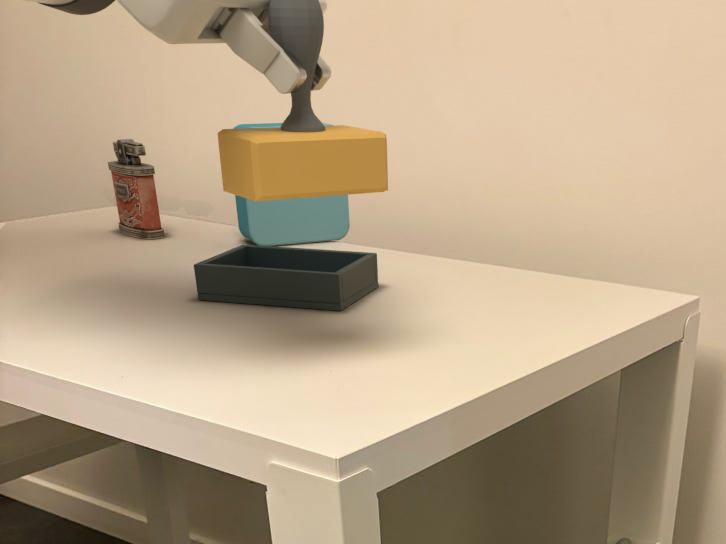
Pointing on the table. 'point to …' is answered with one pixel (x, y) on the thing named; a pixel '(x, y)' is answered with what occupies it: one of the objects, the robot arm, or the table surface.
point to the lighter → (135, 191)
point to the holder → (287, 277)
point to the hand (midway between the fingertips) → (309, 84)
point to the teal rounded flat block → (292, 215)
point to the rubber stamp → (301, 132)
